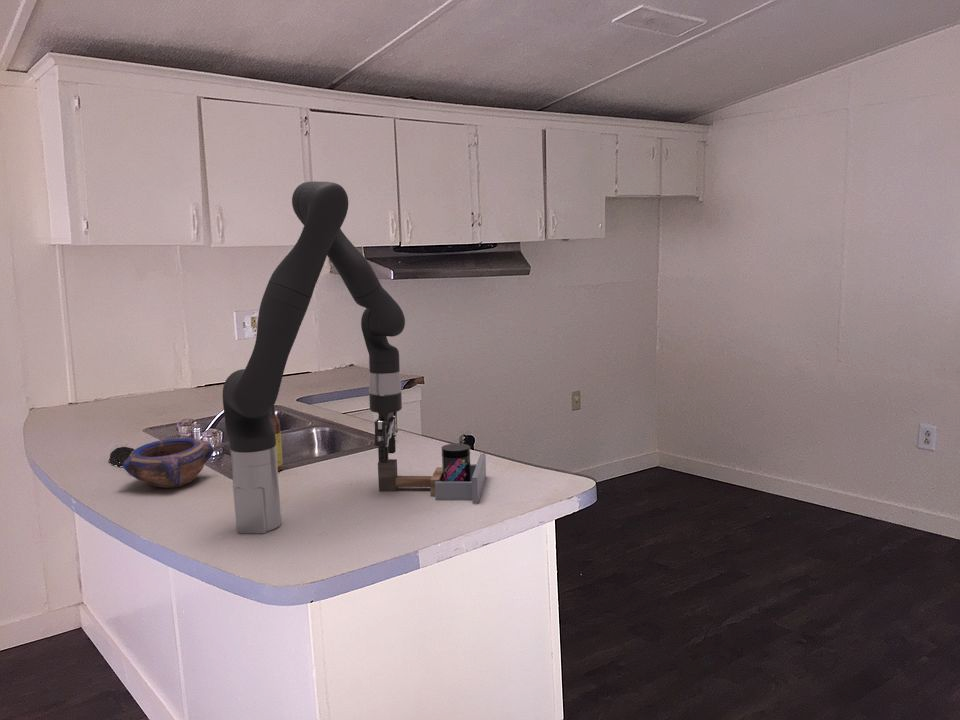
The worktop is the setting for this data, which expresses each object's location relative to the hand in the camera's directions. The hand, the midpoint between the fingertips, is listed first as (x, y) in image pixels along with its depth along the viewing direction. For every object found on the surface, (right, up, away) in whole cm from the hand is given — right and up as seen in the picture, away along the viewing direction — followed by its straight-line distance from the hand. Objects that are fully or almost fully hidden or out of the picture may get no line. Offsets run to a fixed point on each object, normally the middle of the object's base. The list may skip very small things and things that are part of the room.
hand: (387, 457), depth 192 cm
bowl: (-56, -8, +11) cm, 57 cm away
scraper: (+6, -8, +1) cm, 10 cm away
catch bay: (+18, -7, -1) cm, 19 cm away
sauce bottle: (-33, -6, +20) cm, 39 cm away
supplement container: (+17, -8, -1) cm, 18 cm away
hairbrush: (-73, -6, +28) cm, 79 cm away
